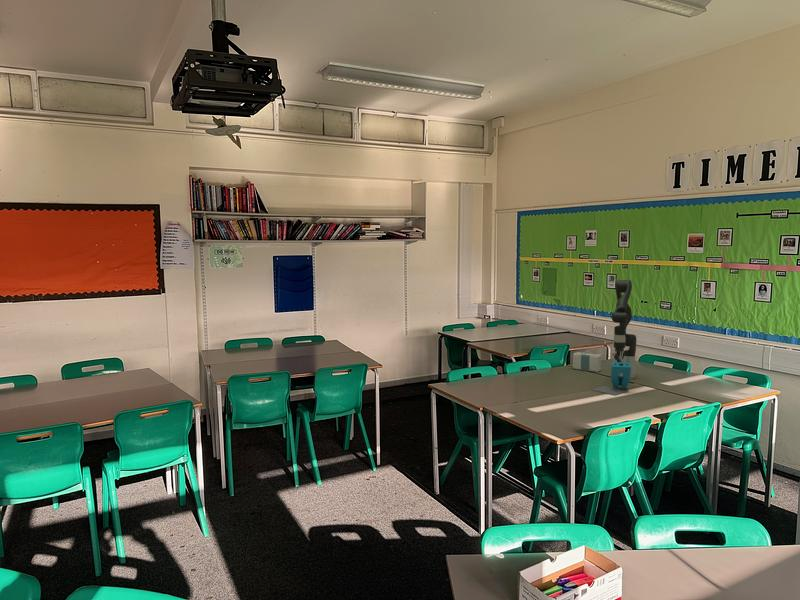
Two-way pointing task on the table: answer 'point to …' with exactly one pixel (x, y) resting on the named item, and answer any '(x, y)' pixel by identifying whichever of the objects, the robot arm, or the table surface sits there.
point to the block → (617, 369)
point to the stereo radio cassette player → (587, 361)
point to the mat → (609, 390)
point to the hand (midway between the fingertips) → (618, 365)
